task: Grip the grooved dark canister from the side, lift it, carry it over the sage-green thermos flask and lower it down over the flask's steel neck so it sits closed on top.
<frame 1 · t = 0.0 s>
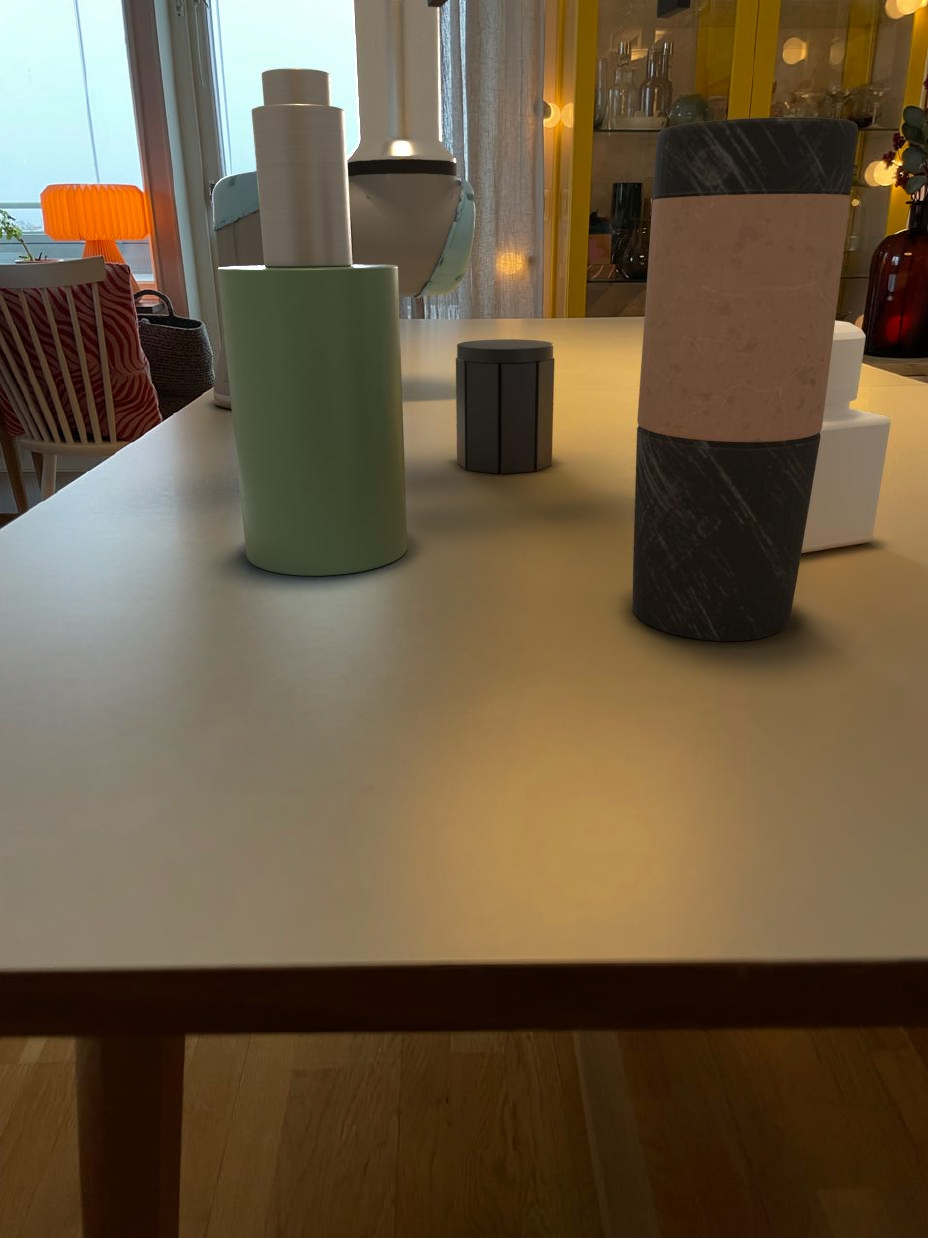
hand: (559, 8, 52), 28 cm above the table, tool pointing down, fingers open, 13 cm apart
medicine bottle: (781, 537, 55), on the table
travel mug: (709, 615, 44), on the table
flask: (327, 549, 53), on the table
grooved dark canister: (504, 463, 73), on the table
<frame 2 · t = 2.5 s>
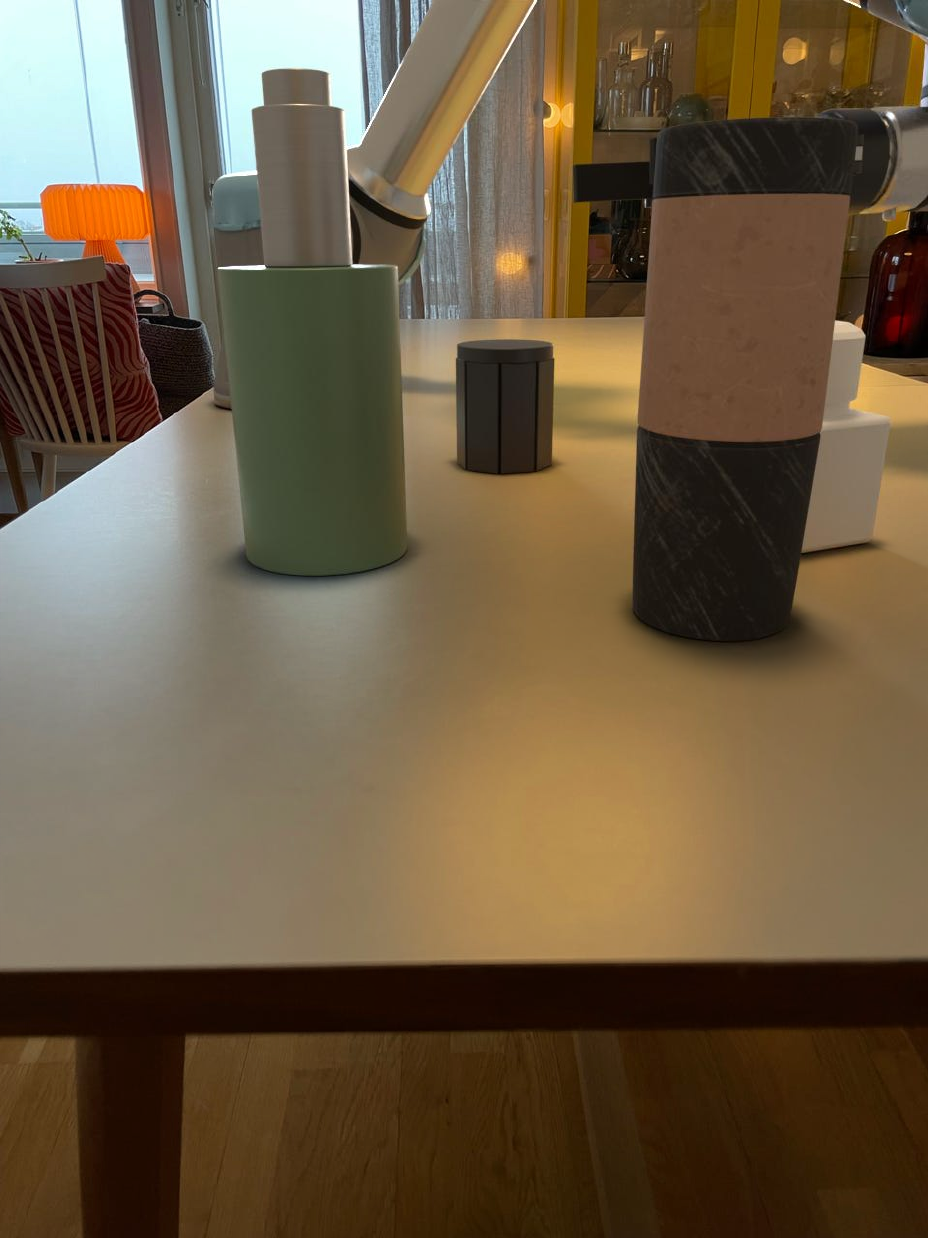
hand: (609, 173, 68), 21 cm above the table, tool horizontal, fingers open, 13 cm apart
nothing on the table moved.
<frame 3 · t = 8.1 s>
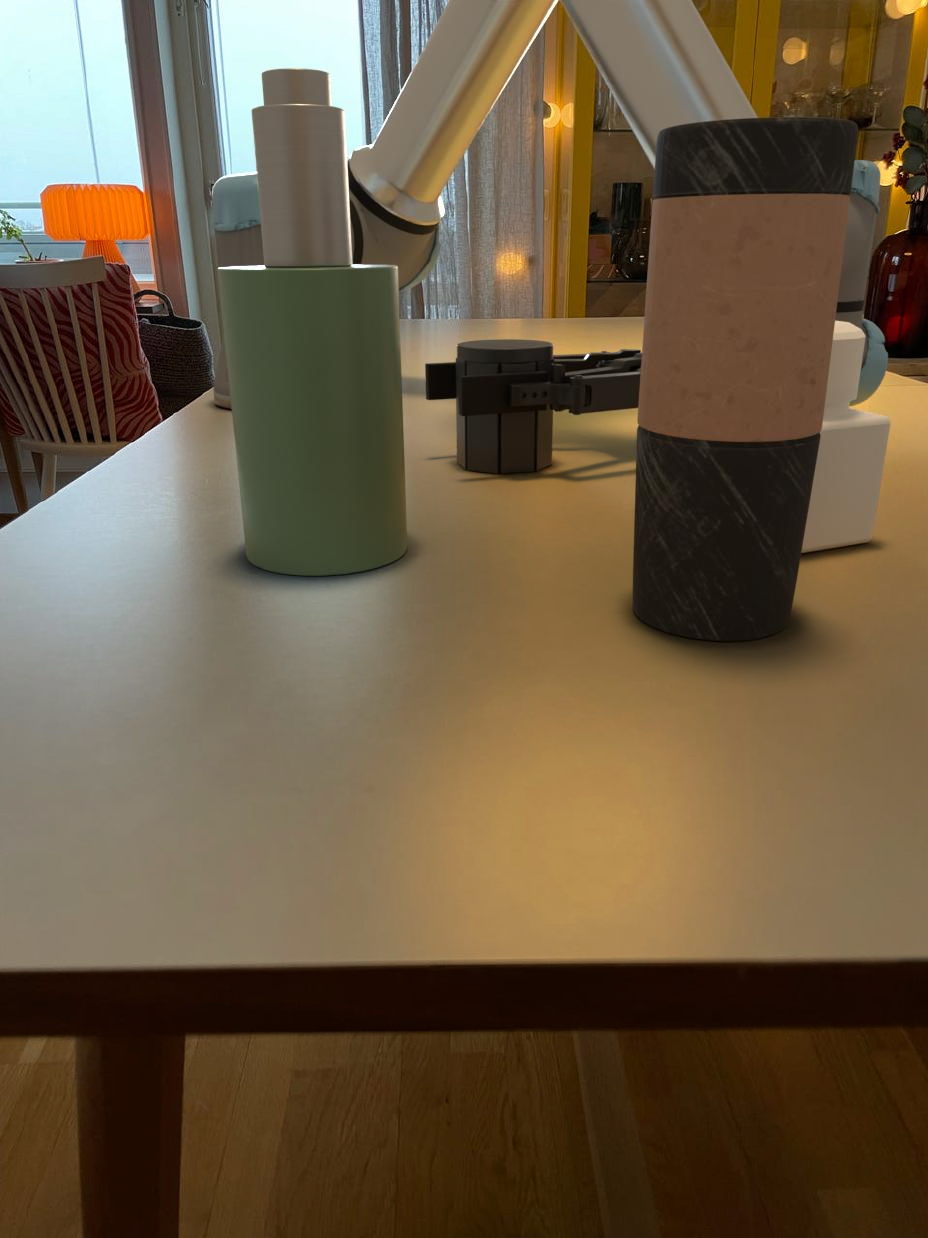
hand: (443, 388, 69), 6 cm above the table, tool horizontal, fingers closed on grooved dark canister, 7 cm apart
grooved dark canister: (504, 463, 73), on the table, touching gripper
everything else where it was.
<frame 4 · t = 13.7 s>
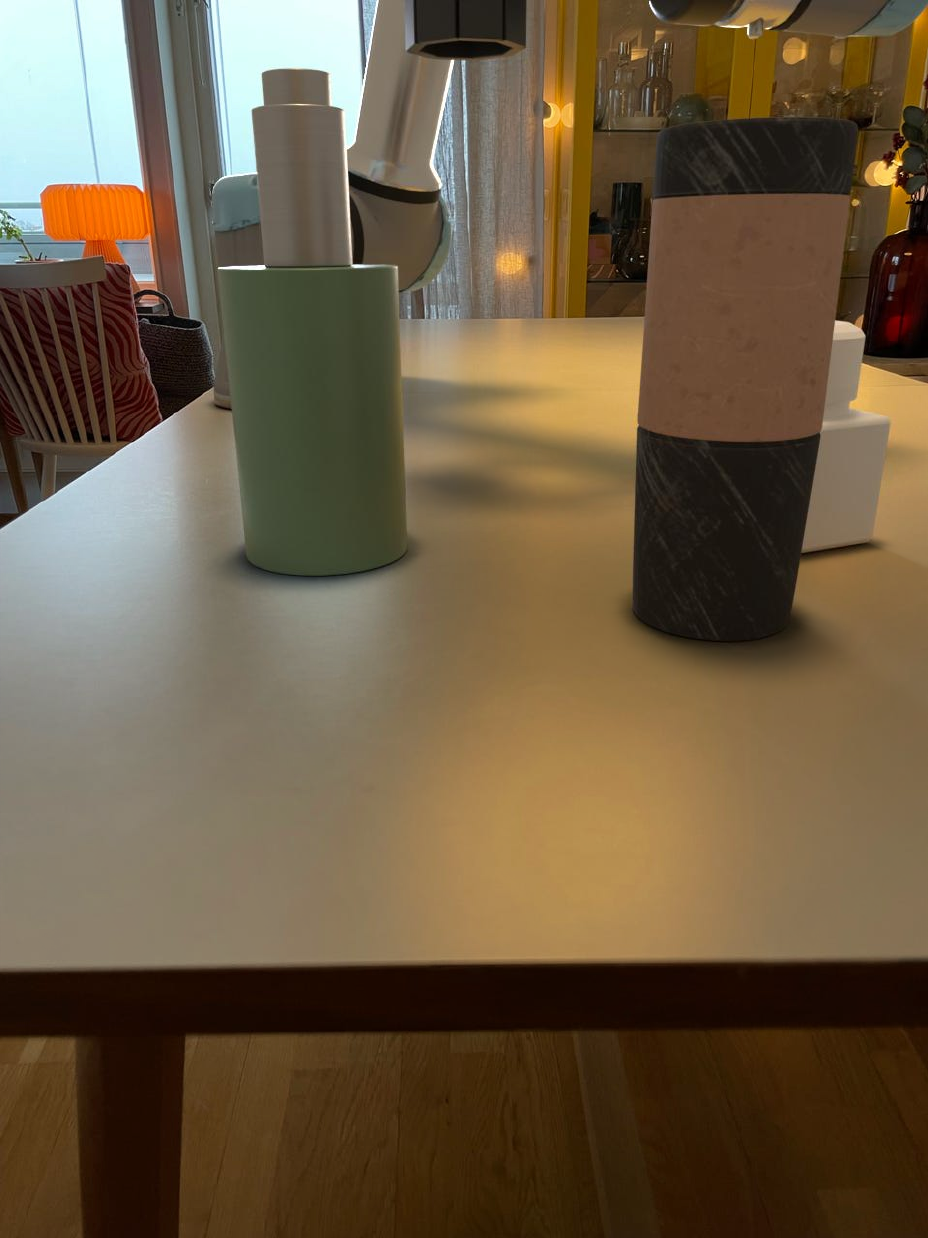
grooved dark canister: (465, 49, 57), point 27 cm above the table, touching gripper
everything else where it was.
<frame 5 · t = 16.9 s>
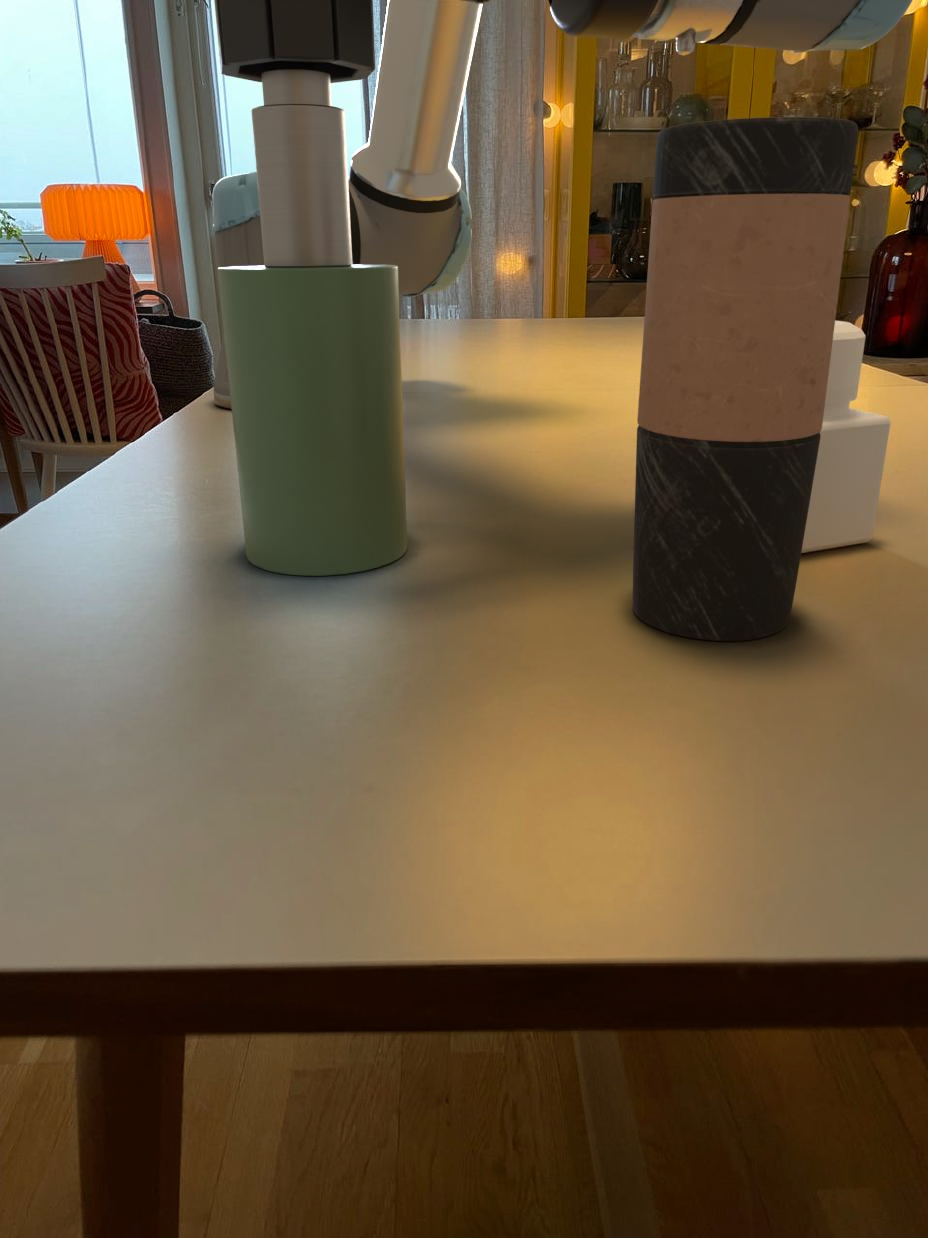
grooved dark canister: (297, 71, 44), point 24 cm above the table, touching gripper
everything else where it was.
when the fingers open (21 cm above the table, at t = 19.5 s): grooved dark canister stays where it is, resting on flask.
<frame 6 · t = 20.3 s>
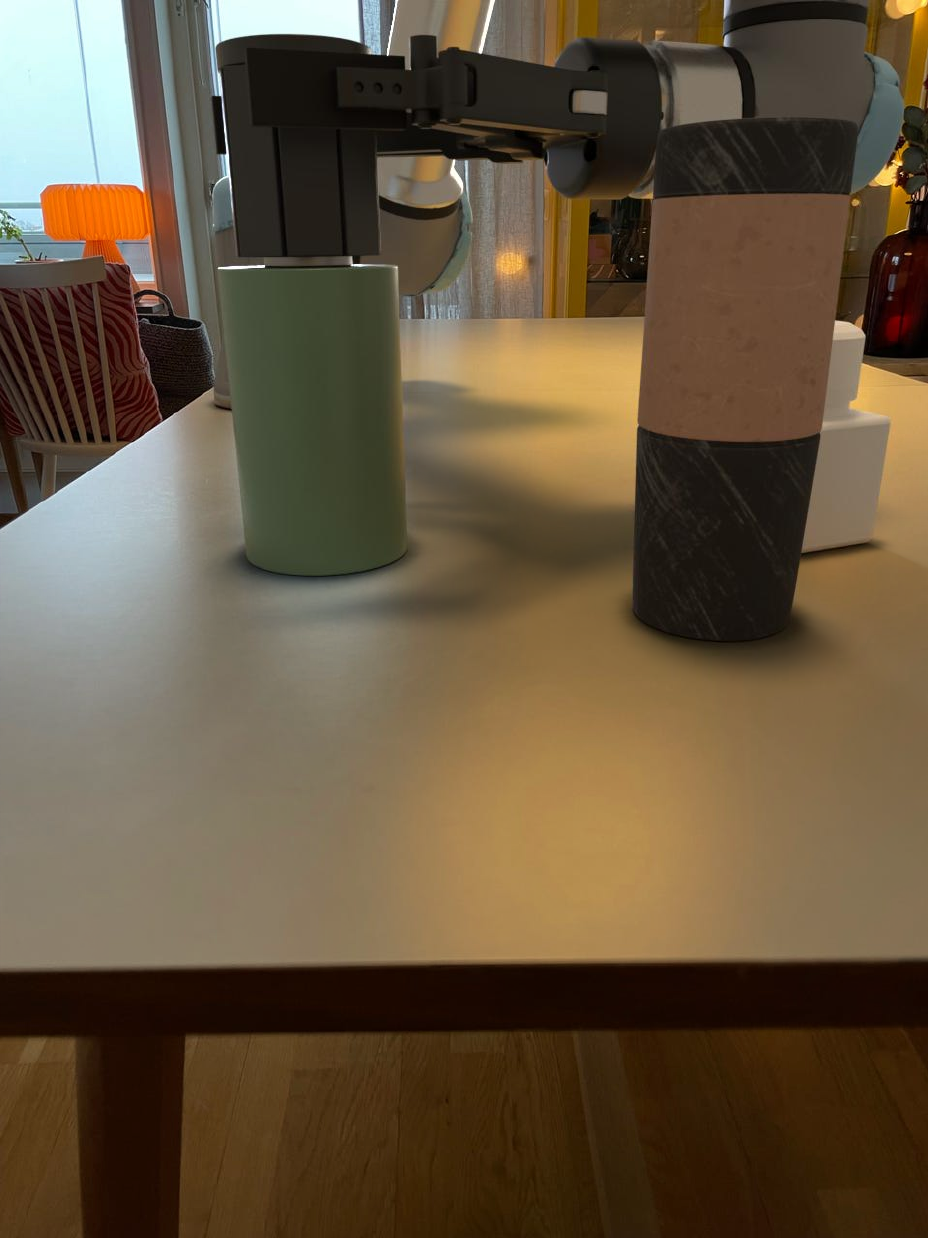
hand: (227, 108, 44), 22 cm above the table, tool horizontal, fingers open, 13 cm apart
grooved dark canister: (308, 255, 47), point 15 cm above the table, touching flask
everything else where it was.
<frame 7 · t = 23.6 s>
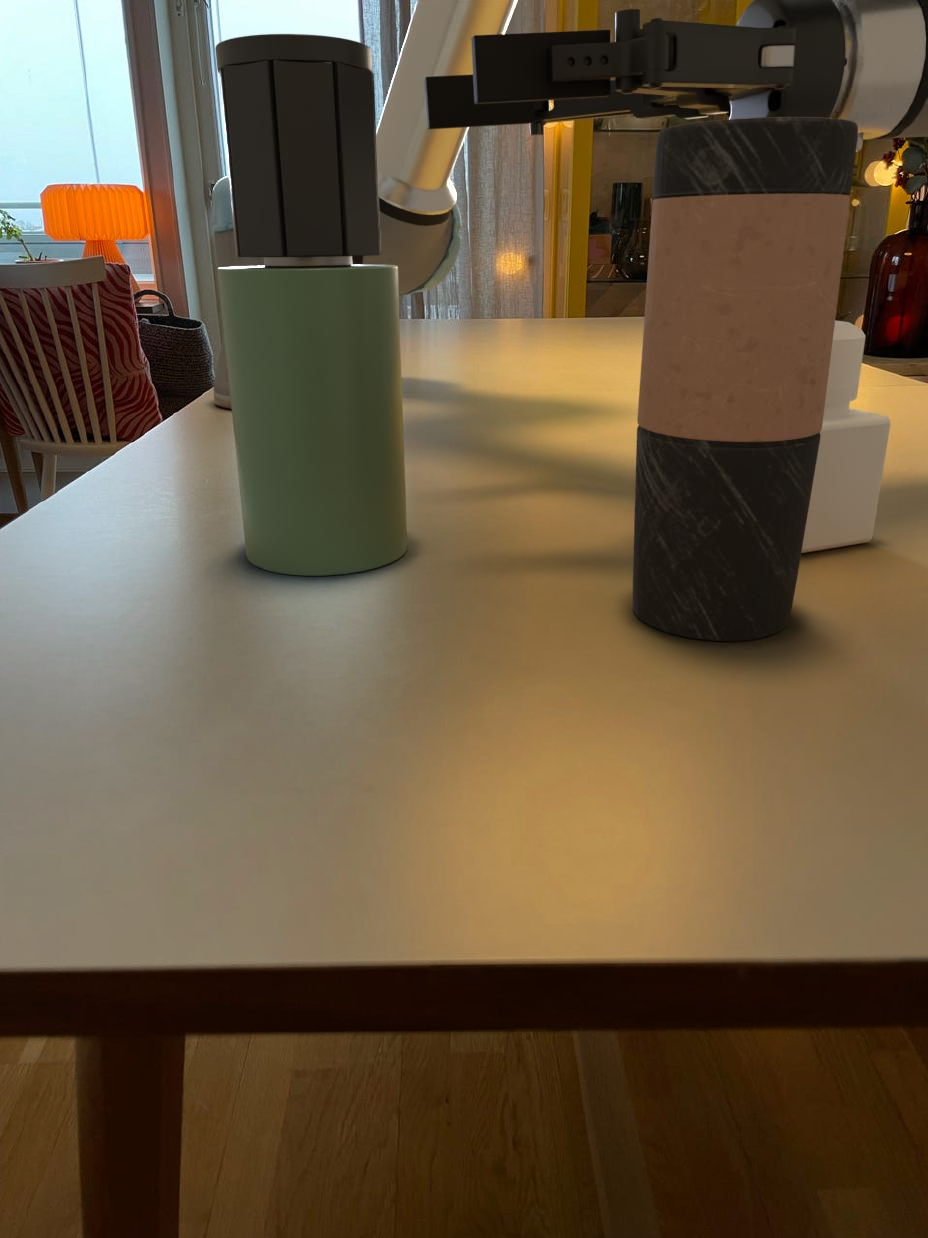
hand: (446, 88, 50), 24 cm above the table, tool horizontal, fingers open, 13 cm apart
nothing on the table moved.
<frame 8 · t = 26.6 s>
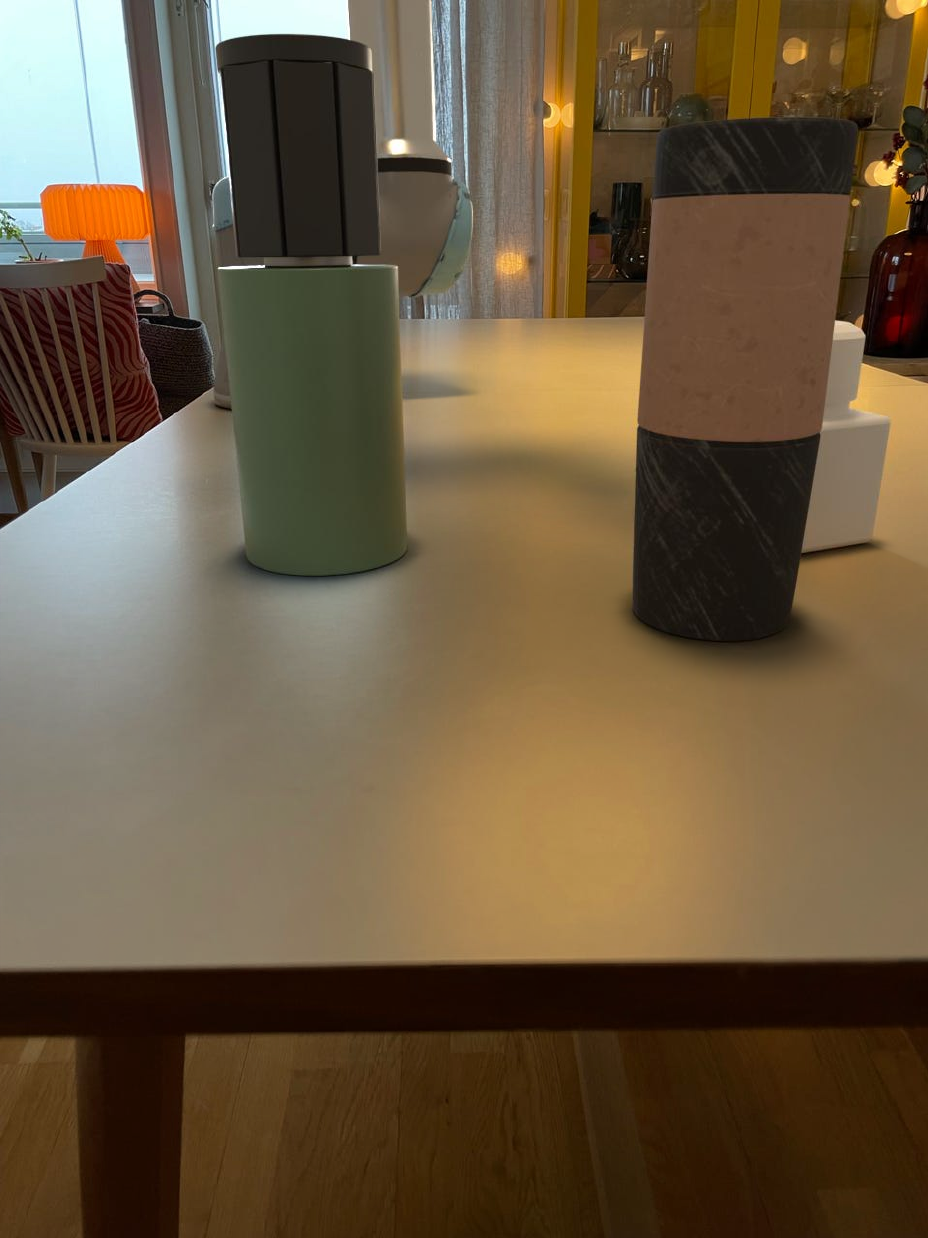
nothing on the table moved.
at the end: grooved dark canister 0.0 cm off-centre on the flask, point 15.5 cm above the flask's base; grooved dark canister tilted 0°; the gripper is holding nothing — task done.
